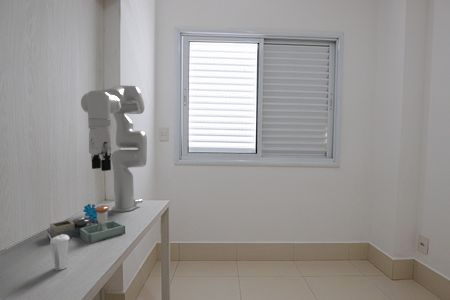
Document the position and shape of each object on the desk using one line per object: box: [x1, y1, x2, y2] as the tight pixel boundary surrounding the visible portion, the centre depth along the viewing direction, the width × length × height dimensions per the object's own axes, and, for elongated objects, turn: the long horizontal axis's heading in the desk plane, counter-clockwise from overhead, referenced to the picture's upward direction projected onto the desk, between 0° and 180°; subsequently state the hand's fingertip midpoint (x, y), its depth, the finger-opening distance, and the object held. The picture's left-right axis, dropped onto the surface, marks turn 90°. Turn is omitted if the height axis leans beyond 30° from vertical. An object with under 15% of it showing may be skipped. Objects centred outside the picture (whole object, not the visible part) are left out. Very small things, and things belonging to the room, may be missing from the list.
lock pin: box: [95, 205, 109, 232], centre depth 94 cm, size 4×4×10 cm
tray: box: [79, 219, 126, 244], centre depth 94 cm, size 13×10×3 cm
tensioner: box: [46, 217, 96, 241], centre depth 95 cm, size 14×8×6 cm, turn 137°
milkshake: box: [48, 233, 71, 271], centre depth 70 cm, size 4×5×10 cm
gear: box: [82, 203, 97, 223], centre depth 112 cm, size 11×6×10 cm
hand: (101, 169), depth 94 cm, fingers open, 9 cm apart
